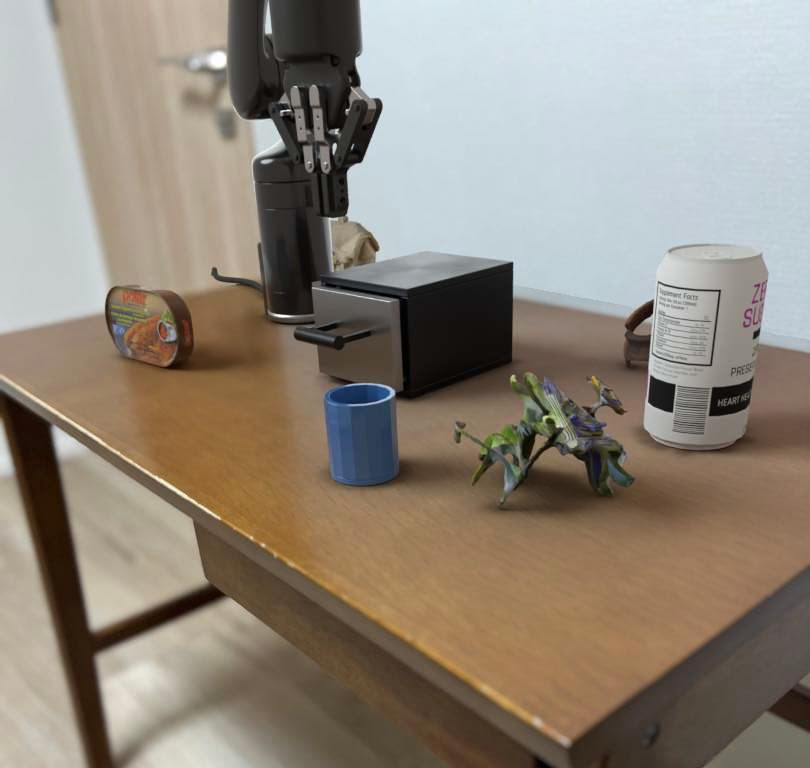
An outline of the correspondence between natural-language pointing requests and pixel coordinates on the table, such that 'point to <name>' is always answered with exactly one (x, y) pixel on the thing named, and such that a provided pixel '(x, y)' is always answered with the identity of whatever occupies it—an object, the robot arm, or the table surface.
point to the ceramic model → (351, 244)
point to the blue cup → (362, 433)
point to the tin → (149, 324)
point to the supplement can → (704, 344)
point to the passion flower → (555, 436)
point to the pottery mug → (637, 344)
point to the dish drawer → (358, 335)
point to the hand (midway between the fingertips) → (331, 216)
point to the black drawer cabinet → (443, 313)
